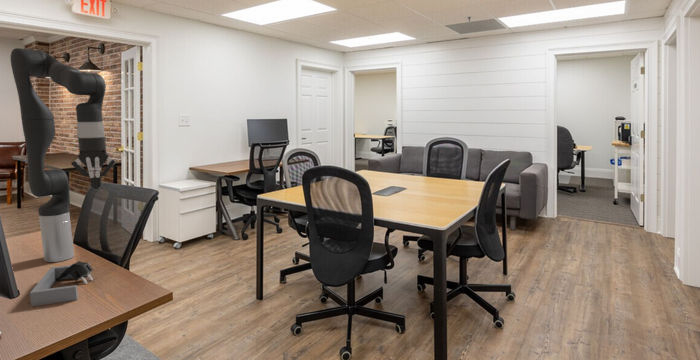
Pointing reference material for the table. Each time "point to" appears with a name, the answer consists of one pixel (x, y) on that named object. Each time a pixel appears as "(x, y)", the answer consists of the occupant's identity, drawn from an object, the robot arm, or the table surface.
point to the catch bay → (53, 295)
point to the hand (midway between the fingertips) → (96, 188)
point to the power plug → (78, 271)
